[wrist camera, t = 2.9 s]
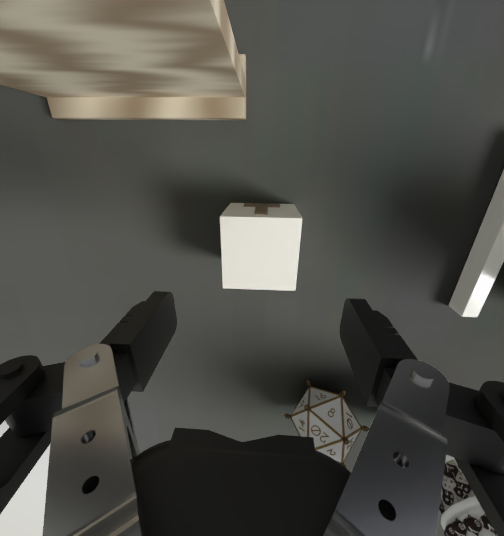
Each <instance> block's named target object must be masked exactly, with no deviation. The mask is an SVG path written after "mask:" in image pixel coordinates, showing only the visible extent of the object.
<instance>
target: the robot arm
mask: <svg viewBox="0 0 504 536" xmlns="http://www.w3.org/2000/svg"><path fill="white" fill-rule="evenodd" d="M176 326H177V318H176V311H175V305H174V299H173V294H172V293H171V292H160V291H155V292H153V293H152V294H151V295H150V297H149V298H148V299H147V300H146V301H142V302H141V303H139V304H137V305H136V306H134V307H132V308H131V310H130V311H129V312H128V313H127V314H126V316H124V317H123V318H122V319H121V321H120V323H118V324H117V325H116V326H115V327H114V328H113V329H112V331H111V332H110V333H109V334H108V335H107V336H106V337H105V338H104V339H103V340H102V342H101V343H100V344H94V345H90V346H87V347H84V348H82V349H80V350H78V351H77V352H75V353H74V354H72V355H71V356H70V357H69V358H68V359H67V361H66V362H63V363H58V364H52V365H47V366H42V364H41V362H40V360H39V358H38V357H36V356H31V355H29V356H21V357H17V358H14V359H11V360H9V361H7V362H5V363H3V364H1V365H0V425H1V424H2V422H3V421H4V420H5V421H6V422H7V424H8V425H9V429H8V430H7V431H6V432H5V433H4V434H3V436H2V437H0V514H1V512H2V511H3V509H4V508H5V507H6V505H7V504H8V502H9V501H10V499H11V498H12V497H13V495H14V494H15V492H16V491H17V490H18V488H19V487H20V485H21V484H22V483H23V481H24V480H25V478H26V477H27V475H28V474H29V473H30V471H31V470H32V468H33V467H34V466H35V464H36V463H37V461H38V460H39V458H40V457H41V456H42V454H43V453H44V451H45V450H46V449H47V447H48V446H49V444H50V443H51V444H50V456H49V467H48V480H47V491H46V503H45V514H44V526H43V536H436V530H437V522H438V514H439V507H440V499H441V491H442V483H443V476H444V468H445V460H446V455H449V456H451V457H454V458H455V460H456V462H457V464H458V466H459V467H460V469H461V471H462V473H463V475H464V476H465V478H466V480H467V482H468V484H469V485H470V487H471V489H472V491H473V493H474V494H475V496H476V498H477V500H478V502H479V503H480V505H481V507H482V509H483V511H484V512H485V514H486V516H487V518H488V520H489V521H490V523H491V525H492V527H493V529H494V530H495V532H496V534H497V536H504V383H503V382H498V381H487V382H485V383H483V385H482V386H481V388H480V390H479V391H477V390H474V389H470V388H467V387H463V386H460V385H456V384H453V383H450V382H448V380H447V378H446V377H445V376H444V375H443V374H442V373H441V372H440V371H439V370H438V369H436V368H435V367H433V366H432V365H430V364H428V363H425V362H423V361H420V360H418V359H417V358H416V357H415V355H414V354H413V353H412V351H411V350H410V348H409V347H408V346H407V344H406V343H405V342H404V340H403V339H402V337H401V336H400V335H399V333H398V332H397V331H396V329H395V328H394V326H393V325H392V324H391V322H390V321H389V320H388V318H387V317H385V316H384V315H383V314H381V313H380V312H378V311H373V310H372V309H371V307H370V306H369V304H368V303H367V301H366V300H365V299H346V300H345V303H344V309H343V314H342V319H341V324H340V337H341V341H342V344H343V346H344V349H345V352H346V354H347V357H348V359H349V362H350V364H351V367H352V370H353V372H354V375H355V377H356V380H357V382H358V385H359V388H360V390H361V393H362V395H363V398H364V401H365V403H366V406H369V407H378V410H377V412H376V414H375V417H374V419H373V422H372V424H371V426H370V429H369V431H368V433H367V436H366V438H365V440H364V443H363V445H362V448H361V450H360V452H359V455H358V457H357V459H356V462H355V464H354V467H353V469H352V471H351V473H350V472H349V471H348V470H347V469H346V468H345V467H344V466H342V465H341V464H340V463H339V462H337V461H336V460H334V459H332V458H331V457H329V456H327V455H325V454H323V453H321V452H319V451H316V450H315V446H314V439H313V437H301V436H287V435H276V436H271V437H266V438H261V439H257V440H252V441H247V442H239V441H236V440H234V439H231V438H228V437H226V436H223V435H220V434H218V433H215V432H212V431H209V430H200V429H186V428H175V430H174V433H173V435H172V438H171V440H169V441H165V442H162V443H159V444H157V445H155V446H152V447H150V448H148V449H147V450H145V451H143V452H142V453H140V452H139V448H138V444H137V440H136V435H135V431H134V426H133V421H132V417H131V412H130V408H129V403H128V400H127V398H128V396H129V394H130V392H131V391H137V392H143V390H144V389H145V387H146V385H147V383H148V381H149V379H150V377H151V375H152V374H153V372H154V370H155V368H156V366H157V364H158V362H159V361H160V359H161V357H162V355H163V353H164V351H165V349H166V348H167V346H168V344H169V342H170V340H171V338H172V336H173V335H174V333H175V330H176Z"/></svg>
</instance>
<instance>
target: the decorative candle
mask: <svg viewBox="0 0 504 536" xmlns="http://www.w3.org/2000/svg"><path fill="white" fill-rule="evenodd" d="M439 510H440V511H441V514H442V517H441V522H440V523H441V525H442V527H443V529H444V530H445V532H444V535H445V536H497V534H496V532H495V530H494V529H493V527H492V525H491V523H490V521H489V520H488V518H487V516H486V514H485V512H484V511H483V509H482V507H481V505H480V503H479V502H478V500H477V498H476V496H475V494H474V493H473V491H472V489H471V487H470V485H469V484H468V482H467V480H466V478H465V476H464V475H463V473H462V471H461V469H460V467H459V466H458V464H457V462H456V460H455V458H454V457H451V456H449V455H446V460H445V468H444V476H443V483H442V491H441V499H440V507H439Z"/></svg>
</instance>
